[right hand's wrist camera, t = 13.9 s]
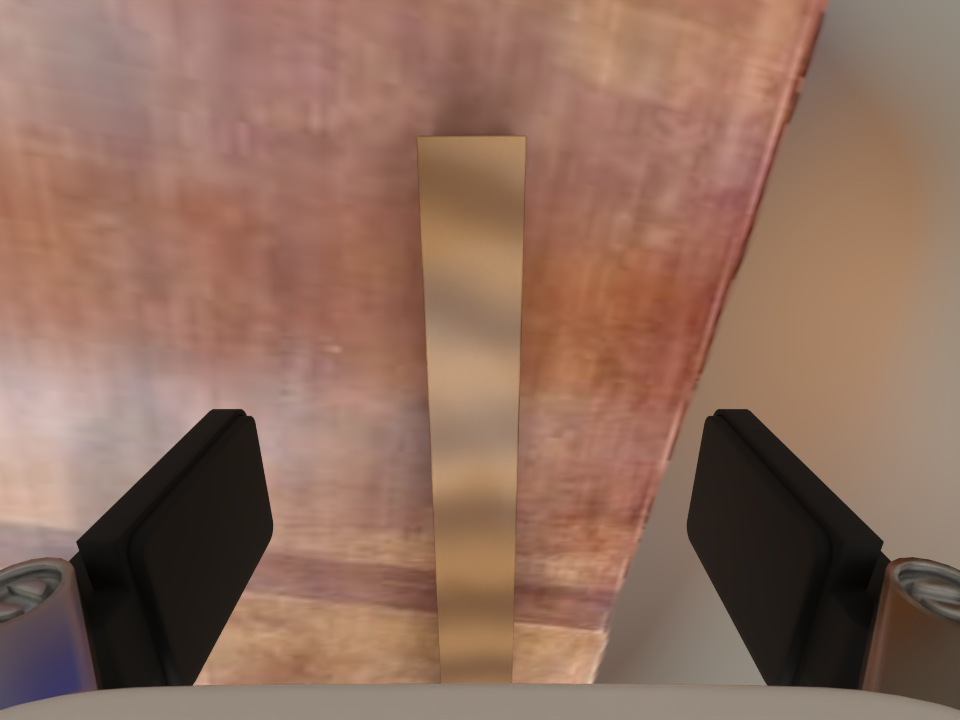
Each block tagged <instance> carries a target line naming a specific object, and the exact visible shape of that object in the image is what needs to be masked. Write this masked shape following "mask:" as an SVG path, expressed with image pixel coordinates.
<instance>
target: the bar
mask: <svg viewBox="0 0 960 720" xmlns="http://www.w3.org/2000/svg"><path fill="white" fill-rule="evenodd" d="M526 139H527V137H526V136H525V135H524V136H417V160H418V183H419V205H420V228H421V250H422V273H423V295H424V318H425V340H426V363H427V385H428V407H429V430H430V452H431V475H432V497H433V520H434V542H435V565H436V587H437V610H438V632H439V654H440V677H441V684H462V683H498V684H512V663H513V626H514V588H515V551H516V513H517V476H518V439H519V401H520V364H521V326H522V289H523V252H524V214H525V177H526Z"/></svg>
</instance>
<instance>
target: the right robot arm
mask: <svg viewBox="0 0 960 720" xmlns="http://www.w3.org/2000/svg"><path fill="white" fill-rule="evenodd" d="M272 533H273V519H272V513H271V508H270V502H269V497H268V491H267V485H266V480H265V474H264V468H263V463H262V457H261V452H260V446H259V440H258V435H257V429H256V424H255V420H254V418H253V417H252V416H247V415H246V413H245V411H243V410H242V409H212V410H211V411H209V412H208V413H207V414H206V415H205V416H204V417H203V418H202V419H201V420H200V421H199V422H198V423H197V424H196V425H195V426H194V427H193V428H192V429H191V430H190V431H189V432H188V433H187V434H186V435H185V436H184V437H183V438H182V439H181V440H180V441H179V442H178V443H177V444H176V445H175V446H174V447H173V448H172V449H171V450H170V451H169V452H168V453H166V454H165V455H164V456H163V457H162V458H161V459H160V460H159V461H158V462H157V463H156V464H155V465H154V466H153V467H152V468H151V469H150V470H149V471H148V472H147V473H146V474H145V475H144V476H143V477H142V478H141V479H140V480H139V481H138V482H137V483H136V484H135V485H134V486H133V487H132V488H131V489H130V490H129V491H128V492H127V493H126V494H125V495H124V496H123V497H121V498H120V499H119V500H118V501H117V502H116V503H115V504H114V505H113V506H112V507H111V508H110V509H109V510H108V511H107V512H106V513H105V514H104V515H103V516H102V517H101V518H100V519H99V520H98V521H97V522H96V523H95V524H94V525H93V526H92V527H91V528H90V529H89V530H88V531H87V532H86V533H85V534H84V535H83V536H82V537H81V538H80V539H79V540H78V541H76V542H77V545H78V548H79V552H78V553H77V554H76V555H75V556H74V557H73V558H72V559H71V560H70V561H69V562H68V561H66V560H64V559H62V558H50V557H46V558H39V559H32V560H28V561H24V562H21V563H18V564H14V565H11V566H9V567H7V568H4V569H2V570H0V720H960V570H958V569H956V568H953V567H951V566H949V565H946V564H942V563H939V562H935V561H932V560H928V559H920V558H914V557H910V558H899V559H896V560H894V561H892V562H891V561H890V560H889V559H888V558H887V557H886V556H885V555H884V554H883V553H882V552H881V548H882V545H883V541H882V540H881V539H880V538H879V537H878V536H877V535H876V534H875V533H874V532H873V531H872V530H871V529H870V528H869V527H868V526H867V525H866V524H865V523H864V522H863V521H862V520H861V519H860V518H859V517H858V516H857V515H856V514H855V513H854V512H853V511H852V510H851V509H850V508H849V507H848V506H847V505H846V504H845V503H844V502H843V501H842V500H841V499H840V498H838V497H837V496H836V495H835V494H834V493H833V492H832V491H831V490H830V489H829V488H828V487H827V486H826V485H825V484H824V483H823V482H822V481H821V480H820V479H819V478H818V477H817V476H816V475H815V474H814V473H813V472H812V471H811V470H810V469H809V468H808V467H807V466H806V465H805V464H804V463H803V462H802V461H801V460H800V459H799V458H798V457H797V456H795V454H793V453H792V452H791V451H790V450H789V449H788V448H787V447H786V446H785V445H784V444H783V443H782V442H781V441H780V440H779V439H778V438H777V437H776V436H775V435H774V434H773V433H772V432H771V431H770V430H769V429H768V428H767V427H766V426H765V425H764V424H763V423H762V422H761V421H760V420H759V419H758V418H757V417H756V416H755V415H754V414H753V413H752V412H751V411H749V410H748V409H718V410H717V411H715V413H714V415H713V416H708V417H707V418H706V420H705V424H704V429H703V435H702V441H701V446H700V452H699V457H698V463H697V468H696V474H695V480H694V485H693V491H692V497H691V502H690V508H689V513H688V519H687V533H688V537H689V540H690V542H691V544H692V546H693V548H694V550H695V551H696V553H697V555H698V557H699V559H700V561H701V563H702V565H703V566H704V568H705V570H706V572H707V574H708V576H709V578H710V580H711V581H712V583H713V585H714V587H715V589H716V591H717V593H718V595H719V596H720V598H721V600H722V602H723V604H724V606H725V608H726V610H727V611H728V613H729V615H730V617H731V619H732V621H733V623H734V625H735V626H736V628H737V630H738V632H739V634H740V636H741V638H742V640H743V642H744V643H745V645H746V647H747V649H748V651H749V653H750V654H751V656H752V658H753V660H754V662H755V664H756V666H757V668H758V670H759V672H760V673H761V675H762V677H763V679H764V681H765V682H766V684H767V685H768V686H756V685H678V684H498V683H462V684H282V685H203V686H192V685H193V684H194V682H195V681H196V679H197V677H198V675H199V673H200V672H201V670H202V668H203V666H204V664H205V662H206V660H207V658H208V657H209V655H210V653H211V651H212V649H213V647H214V645H215V643H216V642H217V640H218V638H219V636H220V634H221V632H222V630H223V628H224V626H225V625H226V623H227V621H228V619H229V617H230V615H231V613H232V611H233V610H234V608H235V606H236V604H237V602H238V600H239V598H240V596H241V595H242V593H243V591H244V589H245V587H246V585H247V583H248V581H249V580H250V578H251V576H252V574H253V572H254V570H255V568H256V566H257V565H258V563H259V561H260V559H261V557H262V555H263V553H264V551H265V550H266V548H267V546H268V544H269V542H270V540H271V537H272Z"/></svg>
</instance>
